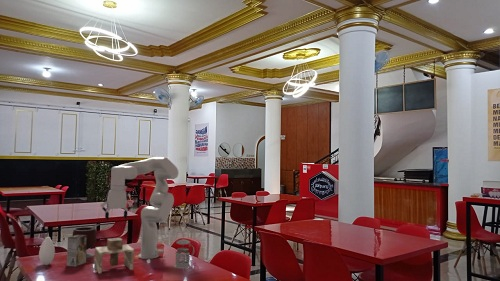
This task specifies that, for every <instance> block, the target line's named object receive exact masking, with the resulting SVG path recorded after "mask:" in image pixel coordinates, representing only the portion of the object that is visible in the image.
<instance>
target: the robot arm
mask: <svg viewBox="0 0 500 281" xmlns="http://www.w3.org/2000/svg"><path fill="white" fill-rule="evenodd" d="M110 170H111V172H110V176H111V177H110V190H108V194H107V200H106V201H104V202H102V203H100V207H101V209H102V210H103V211H104V214H105V215H104V216H105V219H106V221H108V220H109V218H110V217H109V216H110V214H109V213H110V212H109V211H110V210H113V209H114V210H116V209H123V210H124V211H123V219H127V218H128V212H129V210H130V209H131V208H132V206H133V203H132V202H131V201H128V200H127V192H126V189H128V186H126V183H125V182H126V180H134V179H136V178H137V176H138V175H146V174H149V173H152V172H154V178H155V187H154V189H153V191H152V193H151V196H150V198H149V204H150V205H151V206H144V207H143V208H142V209H141V211H140V219H141V241H140V242H141V243H140V244H141V245H140V253H139V254H138V255H137V257H138V259H140V260H141V259H144V260H152V259H157V258H159V256H160V255H159V254H163V253H165V250H164V249H159V248H157V246H158V245H157V244H158V239H157V238H158V226H157V223H160V224H161V223H165V222H166V221H167V219H168V218H169V216H170V213H171V211H172V208H173V205H174V202H175V197H174V195H173V193H170V192H168V191H169V184H168V182H167V180H175V179H177V178H178V176H179V169H178V167H177V166H176V164H174V163H173V162H172V161H171V160H170V159H168V158H167V157H164V156H163V157H162V156H159V157H158V156H155V157H153V156H152V157H150V158H147V159H146V158H145V159H143V160H138V161H134V162H128V163H124V164H120V165H118V166H112V167H111V169H110ZM127 205H129V206H127ZM105 206H106V208H105Z"/></svg>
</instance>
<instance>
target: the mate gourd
mask: <svg viewBox="0 0 500 281" xmlns="http://www.w3.org/2000/svg"><path fill="white" fill-rule="evenodd" d="M98 226H100V223H98V224H95V225H94V226H82V227H74V228H73V231H72V235H71V236H75V235H87V248H86V259H89V258H93V257H95V253H91V252H87V251H88V250H90V249H92V248H93V247H94V246H95V245H96V242H97V228H96V227H98Z"/></svg>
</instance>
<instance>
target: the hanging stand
mask: <svg viewBox="0 0 500 281" xmlns="http://www.w3.org/2000/svg"><path fill="white" fill-rule="evenodd" d="M110 253H118V254H120V253H124V262H123V263H124V265H125V266H126V267H127V268H128V269H129V271H133V270H134V255H135V249H134V248H133V247H132V246H130V245H129V244H123V248H122V249H118V250H109V249H108V248H107V245H106V246H95V248H94V262H93V263H94V264H93V265H94V266H93V267H94V269H95V271H97V273H98V274H103V273H102V272H103V255H108V254H109V255H110Z"/></svg>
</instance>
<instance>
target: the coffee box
mask: <svg viewBox="0 0 500 281" xmlns="http://www.w3.org/2000/svg"><path fill="white" fill-rule="evenodd" d="M86 248H87V235H75V236H72V235H71V236H68V237H67V250H66V253H67V254H66V267H78V266H80V265H83V264H86V263H87V258H86V252H87V250H86Z"/></svg>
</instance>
